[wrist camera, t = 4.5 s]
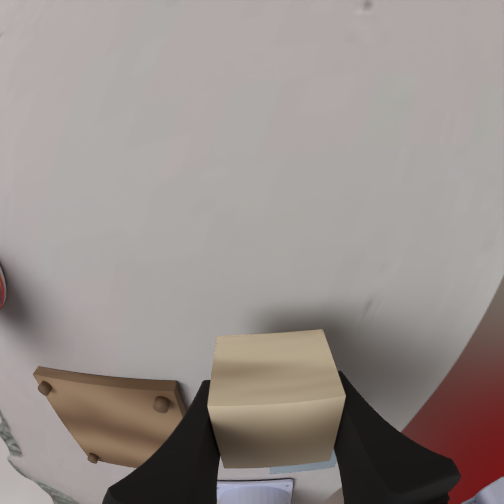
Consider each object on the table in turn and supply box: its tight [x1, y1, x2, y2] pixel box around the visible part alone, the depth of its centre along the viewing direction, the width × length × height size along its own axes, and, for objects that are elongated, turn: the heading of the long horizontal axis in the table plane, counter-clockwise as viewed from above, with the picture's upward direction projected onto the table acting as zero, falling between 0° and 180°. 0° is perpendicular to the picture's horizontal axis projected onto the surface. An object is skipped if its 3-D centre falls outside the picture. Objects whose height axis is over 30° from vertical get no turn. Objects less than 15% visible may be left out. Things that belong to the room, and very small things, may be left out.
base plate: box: [33, 366, 186, 468], centre depth 19 cm, size 12×12×2 cm
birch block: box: [207, 329, 346, 468], centre depth 11 cm, size 4×4×4 cm
